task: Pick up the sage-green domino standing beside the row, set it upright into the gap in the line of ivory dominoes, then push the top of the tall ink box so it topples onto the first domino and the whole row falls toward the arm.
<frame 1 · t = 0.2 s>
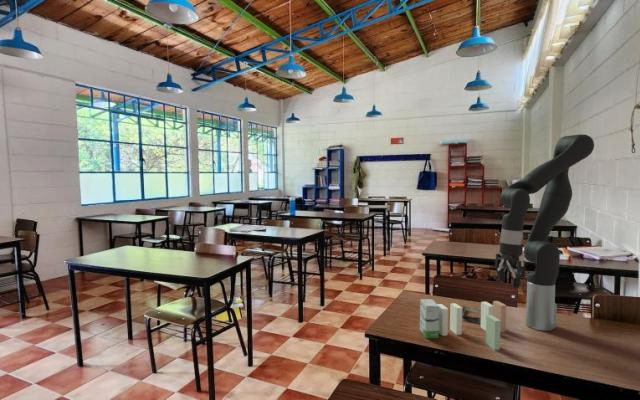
hand: (508, 284, 138), 17 cm above the table, tool pointing down, fingers open, 8 cm apart
domino 4: (486, 329, 139), on the table
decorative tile: (472, 317, 152), on the table
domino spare: (492, 346, 125), on the table
ink box: (429, 334, 136), on the table
domino end: (498, 328, 140), on the table
domino 2: (455, 331, 137), on the table
domino 1: (441, 332, 136), on the table
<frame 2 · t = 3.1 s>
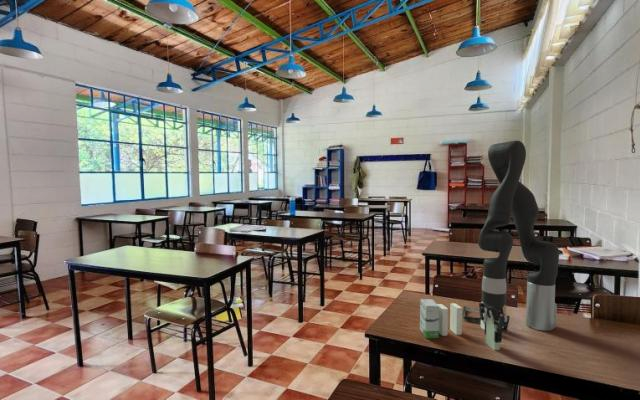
hand: (492, 338, 125), 3 cm above the table, tool pointing down, fingers closed on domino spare, 5 cm apart
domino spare: (492, 346, 125), on the table, touching gripper
when the fingers open (4 cm above the table, at t = 8.4 s): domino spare stays where it is, on the table.
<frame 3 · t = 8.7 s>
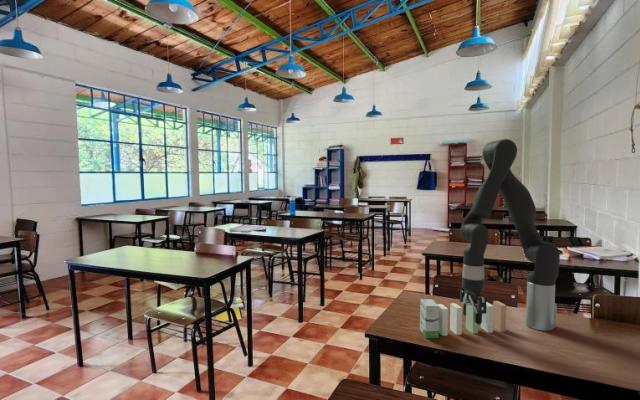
hand: (472, 318, 138), 5 cm above the table, tool pointing down, fingers open, 8 cm apart
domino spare: (471, 330, 138), on the table
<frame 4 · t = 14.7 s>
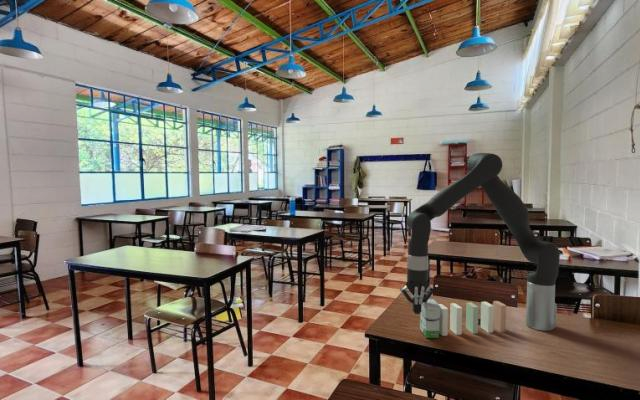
hand: (417, 313, 135), 8 cm above the table, tool pointing down, fingers closed
ink box: (429, 333, 136), on the table, touching gripper
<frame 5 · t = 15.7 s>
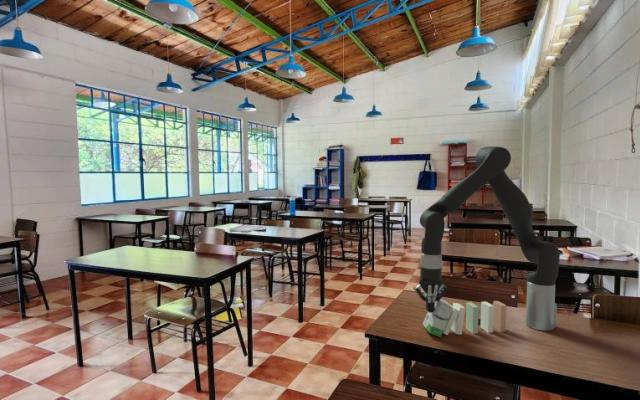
hand: (430, 311, 135), 8 cm above the table, tool pointing down, fingers closed
ink box: (431, 331, 136), point 1 cm above the table, touching gripper, hand
domino 2: (455, 331, 137), on the table, tilted 7°
domino 1: (442, 331, 136), on the table, tilted 27°
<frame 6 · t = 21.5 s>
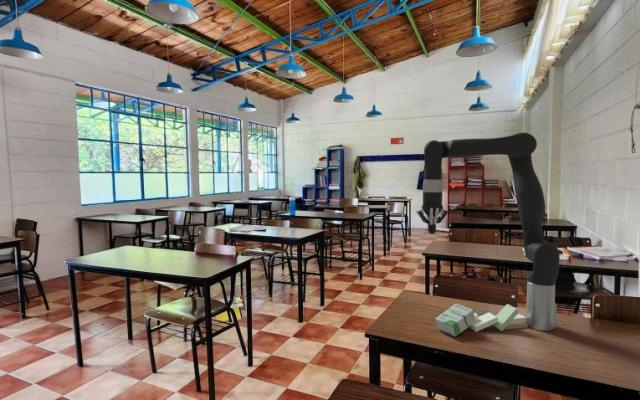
hand: (431, 233, 148), 35 cm above the table, tool pointing down, fingers closed
domino 4: (499, 320, 143), point 2 cm above the table, tilted 90°, touching domino end
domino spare: (495, 327, 139), point 1 cm above the table, tilted 46°
ink box: (444, 328, 135), point 2 cm above the table, touching domino 1
domino end: (500, 326, 142), on the table, tilted 90°, touching domino 4
domino 2: (471, 326, 139), point 1 cm above the table, tilted 72°, touching domino 1
domino 1: (455, 327, 139), point 1 cm above the table, tilted 69°, touching domino 2, ink box
at the end: domino end tilted 90°; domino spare tilted 53°; ink box moved 6.2 cm from its start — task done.
